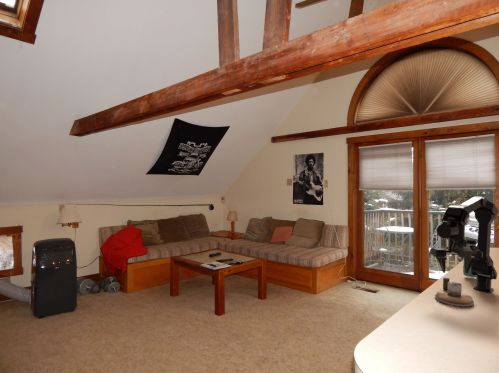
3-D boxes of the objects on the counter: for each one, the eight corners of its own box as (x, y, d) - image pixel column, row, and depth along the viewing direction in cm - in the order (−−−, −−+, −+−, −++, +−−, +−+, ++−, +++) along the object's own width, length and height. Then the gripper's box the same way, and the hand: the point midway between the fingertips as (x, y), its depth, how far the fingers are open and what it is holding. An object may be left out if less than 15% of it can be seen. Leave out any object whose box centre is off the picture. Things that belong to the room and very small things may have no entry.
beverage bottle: (480, 280, 171) (481, 241, 170) (465, 279, 172) (467, 240, 171) (474, 276, 177) (475, 238, 176) (460, 275, 179) (461, 238, 178)
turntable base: (441, 292, 153) (441, 290, 153) (478, 301, 143) (478, 299, 143) (430, 300, 144) (430, 297, 144) (468, 310, 134) (468, 308, 134)
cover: (449, 292, 147) (450, 280, 147) (462, 295, 143) (463, 283, 143) (445, 295, 144) (446, 283, 143) (459, 298, 140) (459, 286, 140)
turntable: (429, 290, 152) (429, 277, 152) (459, 291, 151) (460, 278, 151) (445, 303, 137) (446, 288, 137) (479, 304, 136) (480, 289, 136)
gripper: (443, 239, 135) (442, 278, 135) (492, 240, 134) (490, 279, 134) (430, 234, 146) (428, 270, 146) (474, 235, 145) (473, 271, 146)
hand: (455, 272), depth 143 cm, fingers open, 9 cm apart
